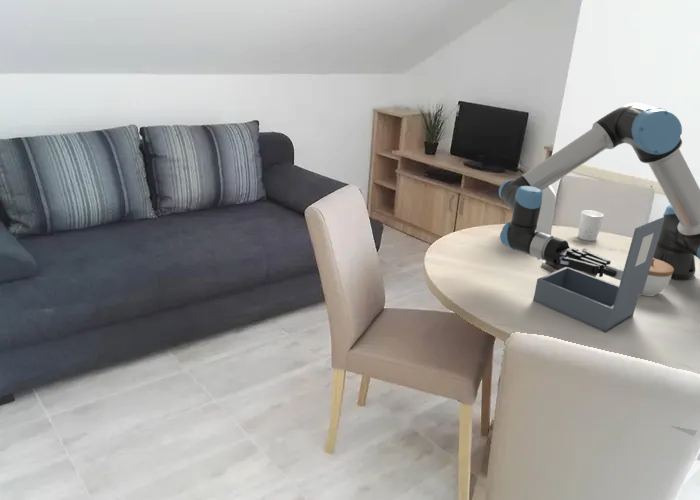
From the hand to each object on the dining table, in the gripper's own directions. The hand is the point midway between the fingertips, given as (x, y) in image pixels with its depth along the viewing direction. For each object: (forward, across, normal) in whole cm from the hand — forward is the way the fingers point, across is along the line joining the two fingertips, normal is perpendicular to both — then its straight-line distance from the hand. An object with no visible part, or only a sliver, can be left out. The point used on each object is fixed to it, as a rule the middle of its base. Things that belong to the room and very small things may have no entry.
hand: (630, 277), depth 149 cm
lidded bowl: (-6, -29, -15) cm, 33 cm away
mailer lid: (0, -2, +4) cm, 4 cm away
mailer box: (-11, -1, -14) cm, 18 cm away
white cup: (-41, -60, -15) cm, 74 cm away
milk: (-52, -39, -15) cm, 67 cm away
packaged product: (-26, -21, -15) cm, 37 cm away
